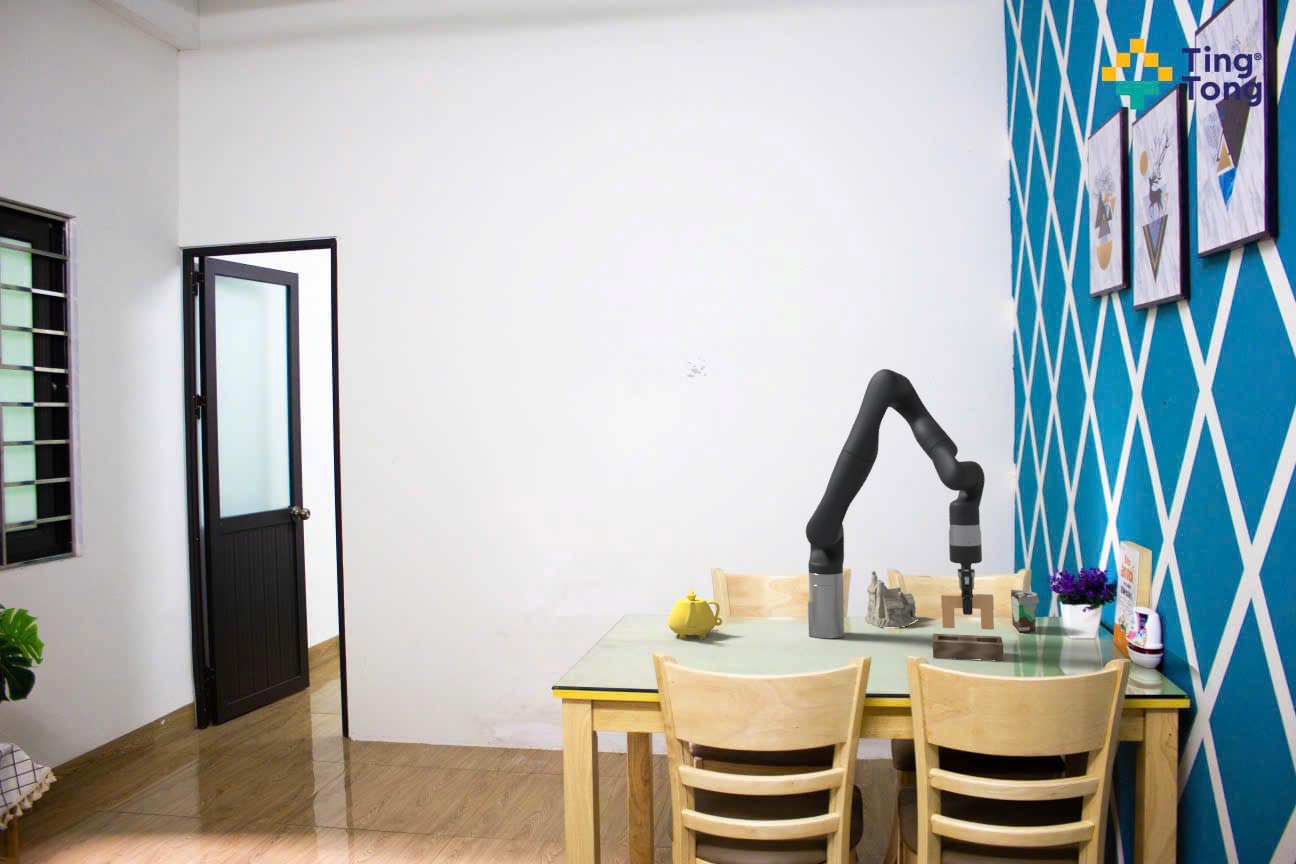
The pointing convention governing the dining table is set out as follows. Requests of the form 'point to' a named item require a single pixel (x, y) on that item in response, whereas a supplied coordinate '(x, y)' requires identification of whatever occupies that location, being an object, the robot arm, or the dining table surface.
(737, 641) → the dining table surface
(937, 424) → the robot arm
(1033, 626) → the food container
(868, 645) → the dining table surface
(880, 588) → the ceramic cottage
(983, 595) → the tan u-shaped block
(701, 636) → the teapot
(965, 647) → the brown slotted wooden block
